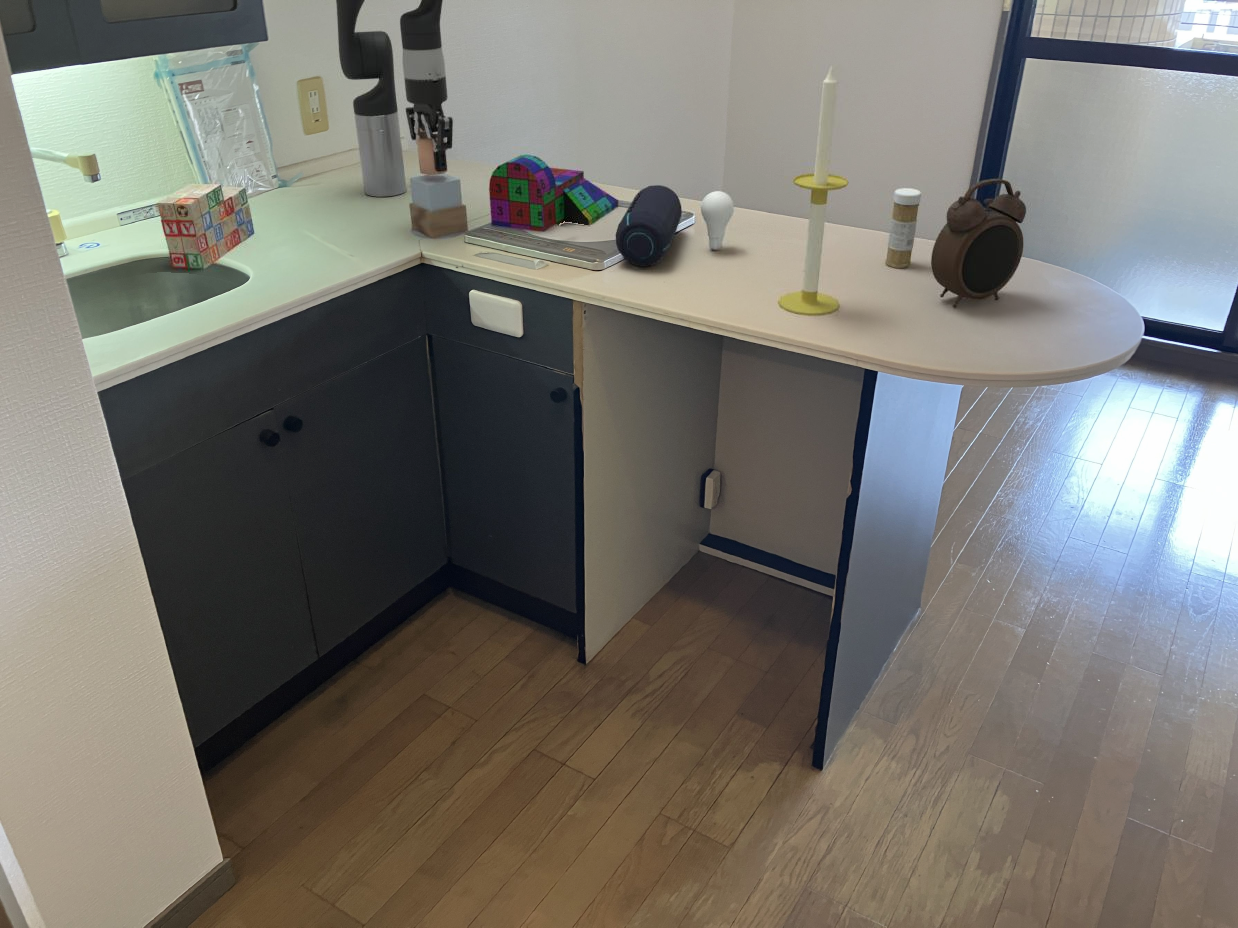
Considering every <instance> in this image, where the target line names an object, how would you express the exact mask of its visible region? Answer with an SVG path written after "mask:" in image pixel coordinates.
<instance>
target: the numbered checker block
mask: <svg viewBox="0 0 1238 928" xmlns="http://www.w3.org/2000/svg"><path fill="white" fill-rule="evenodd" d="M488 191H489V193H488V194H489V205H490V207H489V208H490V220H491V226H496V227H505V228H512V229H513V228H514V229H519V230H527V231H534V232H535V231H536V232H543V233H544V232H545V231H547V230H548V229H550V228H552V227H554V225H556V226H559V224H560V223H563V222H564V221H565V222H572V223H578V224H584V225H590V224H591V225H593V224H595V222H597V221H598V220H599V219H600V220H601V219H602V218H603V217H604V216H605V215H607V214H609V213H610V212H612V211H614V210H615V209H616V208H618V207H619V199H617V198H616V197H614V196H612V195H610V194H609V193H608V192H606V191H605V190H603V189H602V188H601V187H598V186H597V185H596V184H593V182H591V181H589V180H587V179H586V178H585V171H584V170H575V169H566V168H557V167H550V166H548V165H547V163H546V161H544V160H542V159H541V158H539V157H538V156H535V155H531V154H521V155H518V156H516V157H514V158H512V159H510V160H508V161H505V162H504V163H502V164H500V165H498V166H497V167H496V168H495V169H494V170H493V171H492V173H491V176H490V179H489V186H488ZM592 223H593V224H592ZM584 225H583V226H584ZM591 225H590V226H591Z"/></svg>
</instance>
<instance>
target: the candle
mask: <svg viewBox="0 0 1238 928" xmlns="http://www.w3.org/2000/svg"><path fill="white" fill-rule="evenodd" d="M837 90H838V81H837V79H836V77H835V72H834V67H833V65H831V67H830V68H829V70H828V72H827V75H826V77H825V79H824V80H823V81H822V89H821V99H820V100H821V101H820V110H819V122H818V130H817V131H818V133H817V140H816V141H817V143H816V153H815V163H814V164H815V165H814V172H813V173H805V174H799V175H796V176H794V178H792V182H793V184H794V185H795V186H797V187H799V188H801V189H802V188H803V189H806V190H811V192H810V202H809V215H808V226H807V236H806V246H805V256H804V257H805V258H804V269H803V277H802V291H794V292H788V293H786V294H784V295H782V296H780V298H779V299H778V301H777V302H778V305H779V307H780V308H782V309H783V310H785V311H787V312H790V313H793V314H797V315H802V316H803V315H804V316H822V315H823V316H824V315H830V314H832V313H834V312H836V311H838V310H839V308H840V303H839V301H838V299H837V298H836V297H833V296H831V295H829V294H825V293H822V292H818V291H819V282H820V281H819V280H820V271H821V263H822V262H821V261H822V251H823V244H824V243H823V242H824V232H825V221H826V213H827V212H826V211H827V203H828V192H829V191H836V190H841V189H843V188H846V187H847V186H848V184H849V180H848V179H847V178H846V177H843V176H840V175H836V174H829V170H830V160H831V152H832V151H831V150H832V141H833V132H834V131H833V130H834V121H835V112H836V111H835V110H836V101H837V92H838V91H837Z"/></svg>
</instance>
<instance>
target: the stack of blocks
mask: <svg viewBox="0 0 1238 928" xmlns="http://www.w3.org/2000/svg"><path fill="white" fill-rule="evenodd" d="M156 203H157V208H158V212H159V216H160V222H161V226H162V230H163V231H162V232H163V234H164V237H165V240H166V246H167V250H168V255H169V259H170V263H171V267H172V268H174V269H196V270H197V269H198V270H205V269H206V268H208V267H209V266H211V265H212V264H214V263H215V262H217V261H219V260H220V259H221V258H223V257H224V256H225V255H227V254H228V253H229V252H230V251H232V249H234V248H235V247H237V246H238V245H239V244H241V243H242V242H244V241H245V240H247V239H248V238H249V237H250V236H253V233H254V234H255V228H254V224H253V219H252V213H251V208H250V203H249V200H248V195H247V191H246V187H244V186H243V187H242V186H241V187H240V186H222V185H221V184H220V183H219V184H218V183H217V184H216V183H215V184H214V183H213V184H211V183H209V184H208V183H206V184H205V183H189V184H187V185H186V186H184V187H182V188H181V189H179V190H177V191H175V192H173V193H172V194H170V195H168V196H167V197H165V198H162V199H160V200H158V201H157V202H156Z"/></svg>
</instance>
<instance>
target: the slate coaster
mask: <svg viewBox="0 0 1238 928" xmlns="http://www.w3.org/2000/svg"><path fill="white" fill-rule="evenodd" d="M465 233H467V231H464V232H459V233H455V234H450V235H446V236H441V237H437V238H433V239H432V238H430V237H428V236H426V235H424V234H422V233H420V232H418V231H416V230H414V229H412V228H411V234H413V236H416V237H418V238H421V239H432V240H436V239H437V240H438V239H449V238H455V237H459V236H461V235H464V234H465Z"/></svg>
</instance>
